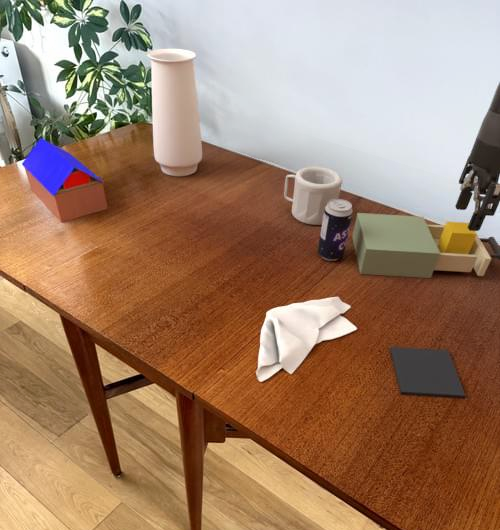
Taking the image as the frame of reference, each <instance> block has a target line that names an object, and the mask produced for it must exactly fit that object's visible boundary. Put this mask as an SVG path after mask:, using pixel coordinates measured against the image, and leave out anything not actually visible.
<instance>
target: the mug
mask: <svg viewBox="0 0 500 530" xmlns="http://www.w3.org/2000/svg"><path fill="white" fill-rule="evenodd" d="M289 179H294V187H293V188H294V189H293V198H290V197H289V196H288V187H289ZM284 181H285V182H284V190H283V198H284V199H285V200H286V201H288V202H291V203H292V206H291V214H292V216H293V218H294V219H296V220H297V221H298V222H301V223H302V224H306V225H311V226H322V221H323V215H324V209H325V207H326V206H327V203H328V201H330V200H332V199H339V197H340V193H341V188H342V184H343V178H342V176H341V174H340V173H339V172H337V171H335V170H333V169H330V168H328V167H323V166H322V167H321V166H308V167H303V168H301V169H299V170H297V172H296V173H295V174H287V175H285V179H284Z"/></svg>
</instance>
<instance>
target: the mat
mask: <svg viewBox="0 0 500 530" xmlns="http://www.w3.org/2000/svg"><path fill="white" fill-rule="evenodd" d="M389 352H390V357H391V361H392V364H393V368H394V372H395V377H396V381H397V384H398V389H399V393H400V395H410V394H411V395H413V396H428V397H443V398H444V397H446V398H462V399H464V398H466V393H465V390H464V388H463V385H462V382H461V380H460V377H459V375H458V371H457V369H456V366H455V364H454V361H453V359H452V356H451V353H450V350H449V349H435V348H433V349H432V348H418V347H417V348H416V347H400V346H390V347H389ZM411 395H410V396H411Z"/></svg>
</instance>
